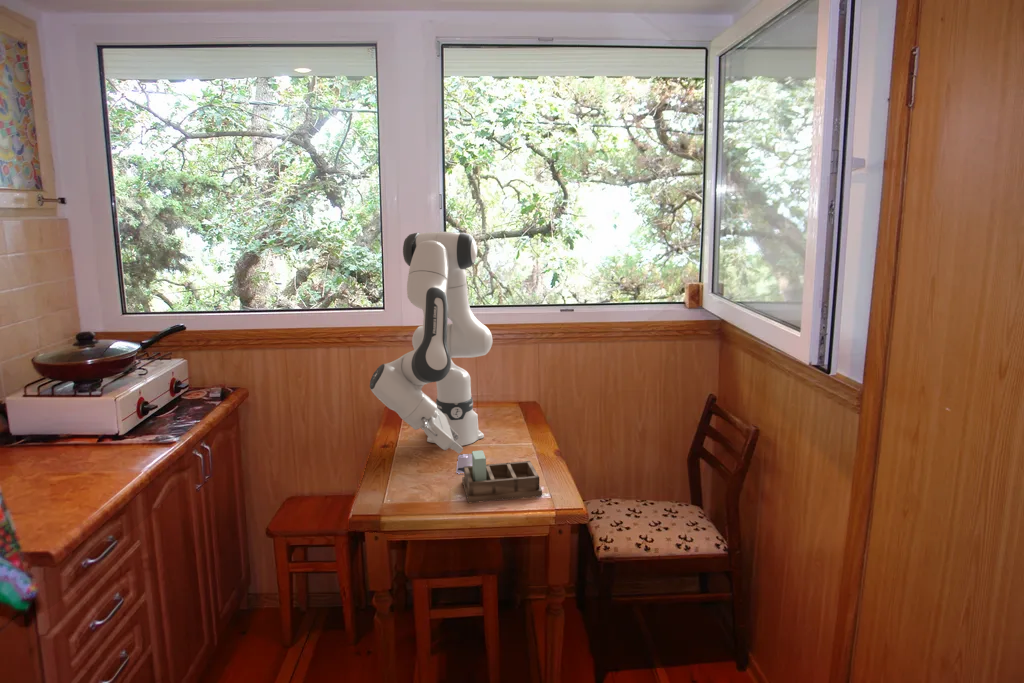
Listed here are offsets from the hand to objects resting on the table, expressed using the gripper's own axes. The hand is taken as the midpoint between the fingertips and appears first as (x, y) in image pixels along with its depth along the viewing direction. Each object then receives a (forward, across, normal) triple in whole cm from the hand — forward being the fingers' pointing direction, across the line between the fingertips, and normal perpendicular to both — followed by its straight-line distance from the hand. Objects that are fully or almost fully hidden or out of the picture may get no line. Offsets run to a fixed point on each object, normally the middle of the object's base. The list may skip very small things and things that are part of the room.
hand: (459, 444), depth 193 cm
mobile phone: (+14, +20, +7) cm, 25 cm away
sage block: (+12, 0, +5) cm, 13 cm away
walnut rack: (+18, 0, +2) cm, 18 cm away
